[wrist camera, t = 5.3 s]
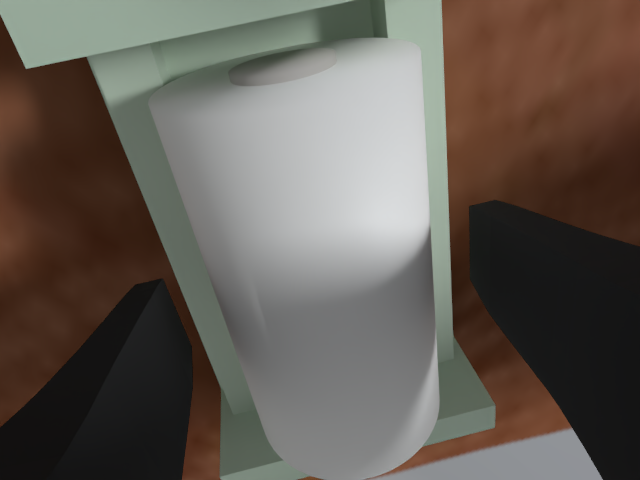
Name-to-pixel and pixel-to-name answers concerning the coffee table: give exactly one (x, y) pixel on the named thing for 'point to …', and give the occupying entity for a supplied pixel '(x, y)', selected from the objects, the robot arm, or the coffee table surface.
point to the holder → (160, 186)
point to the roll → (317, 241)
